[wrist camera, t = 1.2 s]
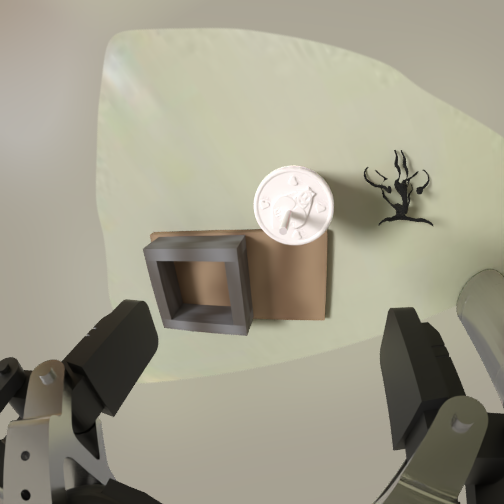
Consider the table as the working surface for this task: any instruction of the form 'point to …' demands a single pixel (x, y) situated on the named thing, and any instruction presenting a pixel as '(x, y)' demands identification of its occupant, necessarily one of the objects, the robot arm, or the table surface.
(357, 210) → the table surface
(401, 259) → the table surface
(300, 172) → the smoothie
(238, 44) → the table surface
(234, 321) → the board
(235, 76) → the table surface
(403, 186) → the creature
